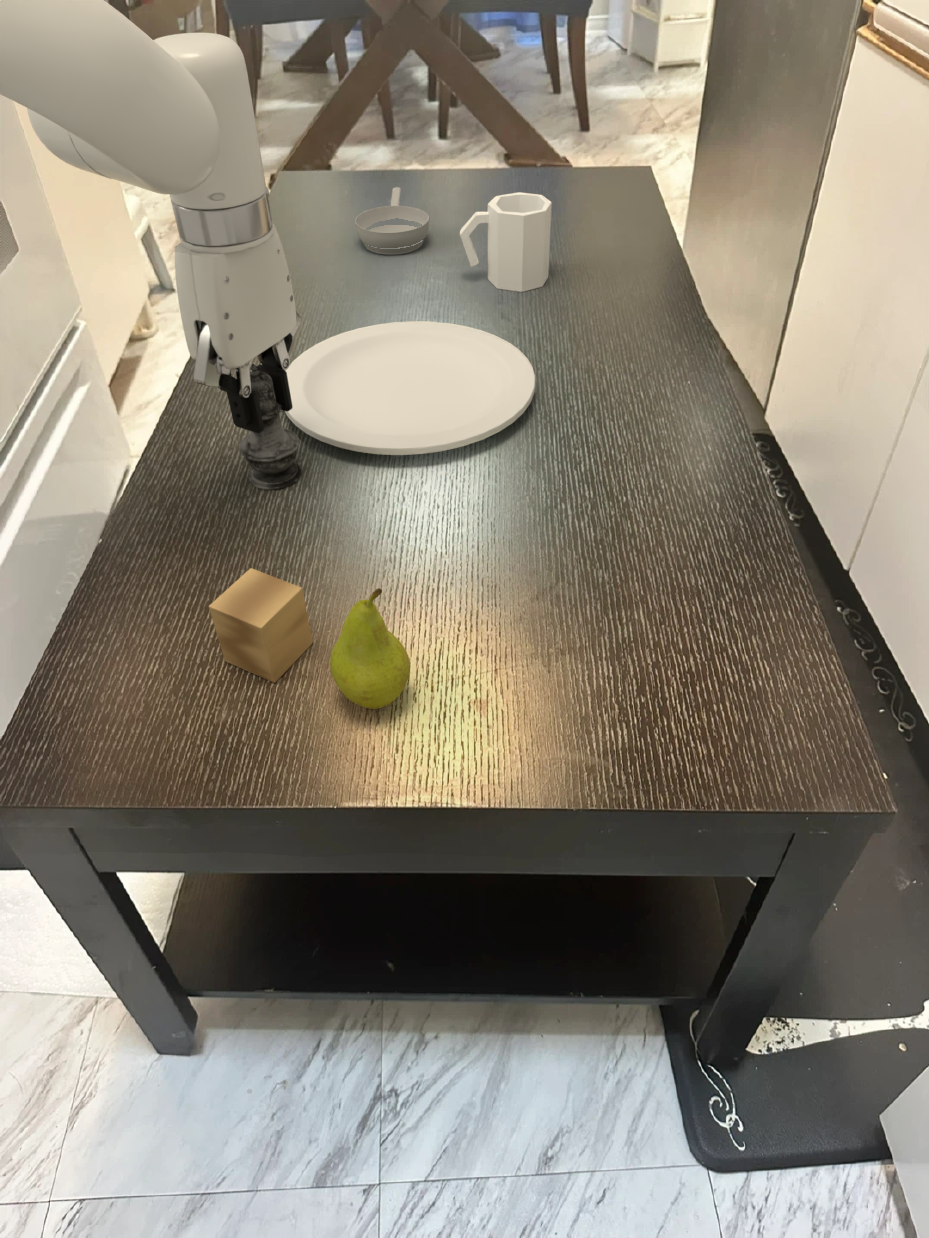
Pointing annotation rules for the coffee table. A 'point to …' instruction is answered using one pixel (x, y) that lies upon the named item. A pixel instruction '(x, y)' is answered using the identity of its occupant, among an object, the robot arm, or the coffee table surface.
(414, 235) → the small pan
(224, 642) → the maple block
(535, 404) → the coffee table surface
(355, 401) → the plate
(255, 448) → the grey chess bishop
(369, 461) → the coffee table surface
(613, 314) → the coffee table surface
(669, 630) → the coffee table surface
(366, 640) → the fruit
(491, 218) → the mug
